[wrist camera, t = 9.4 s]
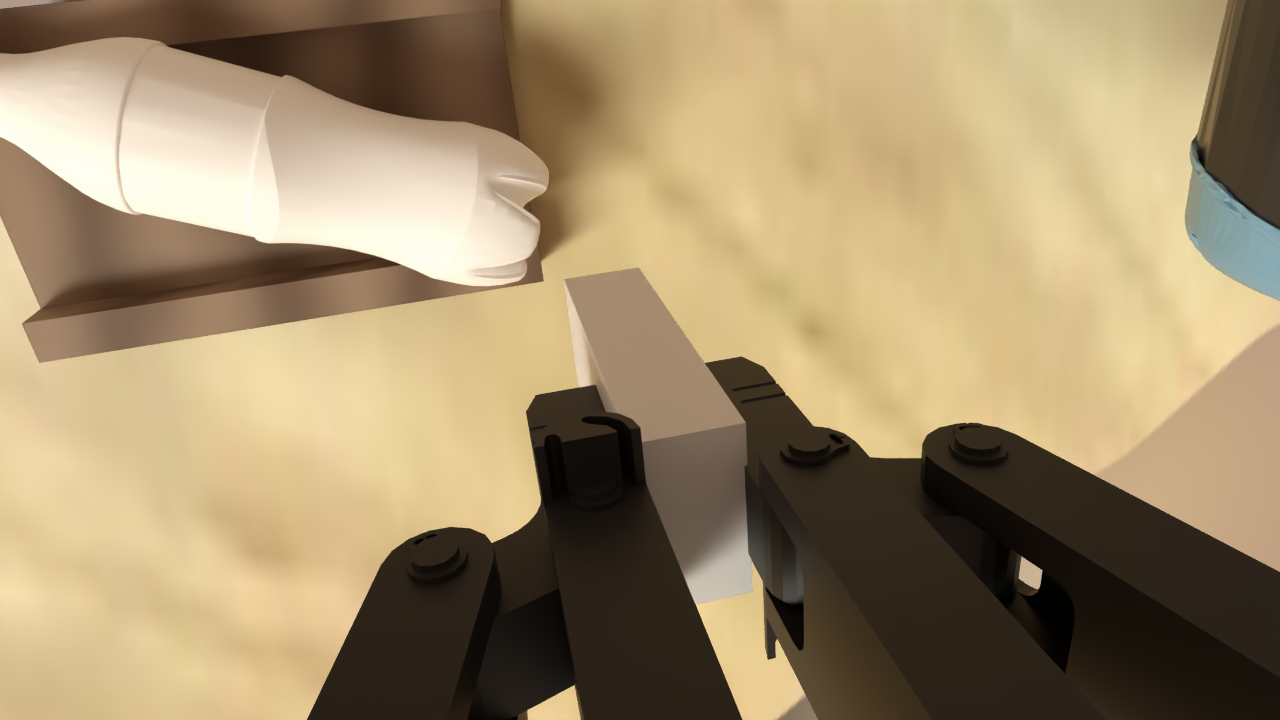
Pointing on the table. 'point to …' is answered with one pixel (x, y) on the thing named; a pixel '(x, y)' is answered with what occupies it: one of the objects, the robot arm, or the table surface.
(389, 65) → the walnut cradle
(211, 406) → the table surface
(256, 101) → the water bottle
